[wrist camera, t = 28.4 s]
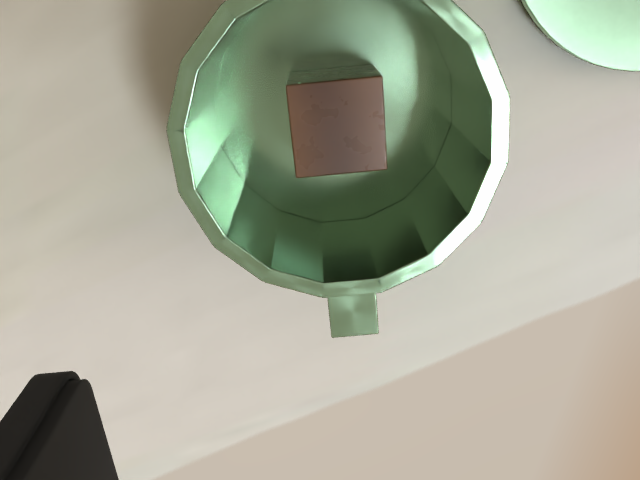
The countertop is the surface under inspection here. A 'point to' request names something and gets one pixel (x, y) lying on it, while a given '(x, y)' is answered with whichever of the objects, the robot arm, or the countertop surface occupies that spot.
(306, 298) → the countertop surface
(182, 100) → the pot
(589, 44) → the pot lid
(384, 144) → the block
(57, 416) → the robot arm
